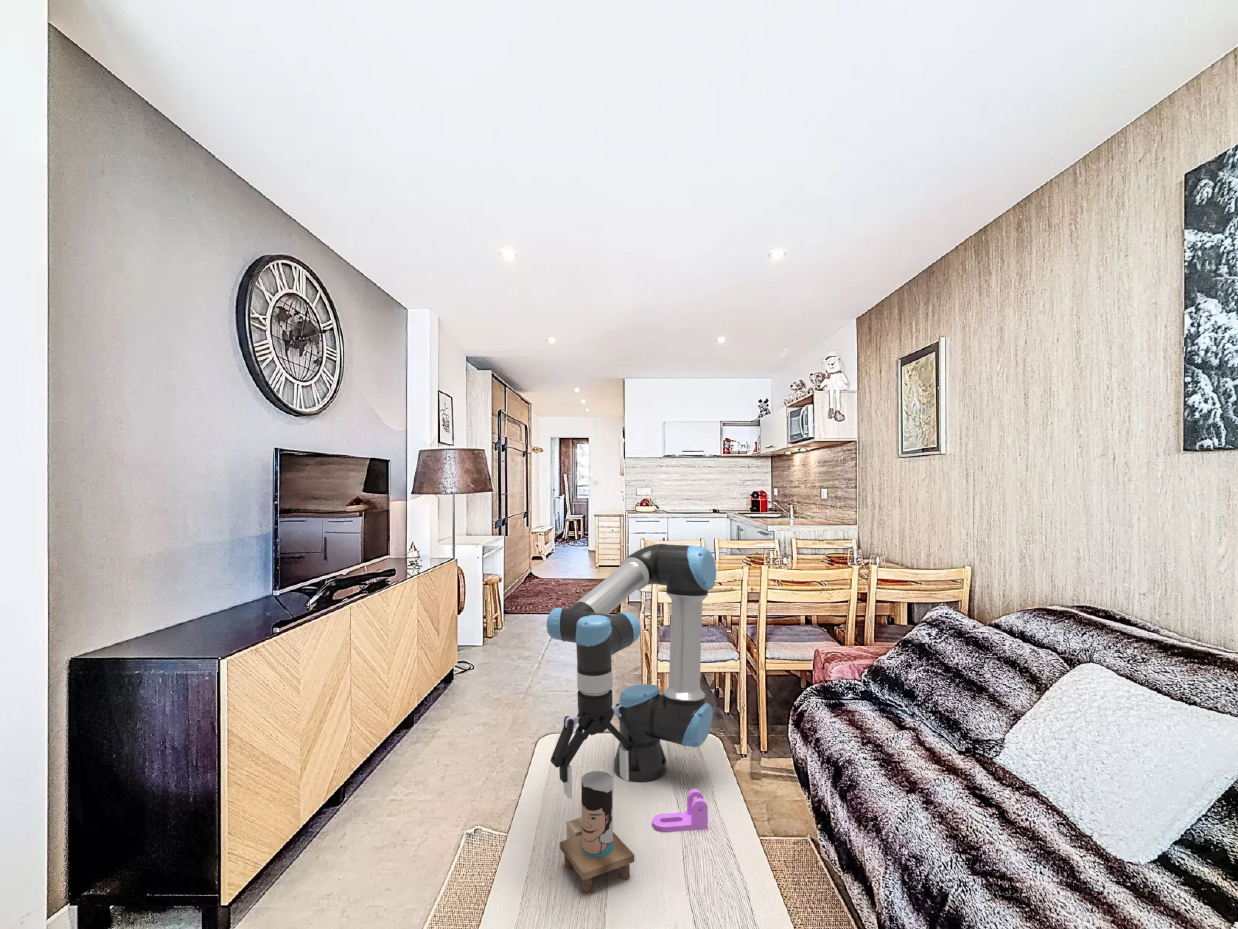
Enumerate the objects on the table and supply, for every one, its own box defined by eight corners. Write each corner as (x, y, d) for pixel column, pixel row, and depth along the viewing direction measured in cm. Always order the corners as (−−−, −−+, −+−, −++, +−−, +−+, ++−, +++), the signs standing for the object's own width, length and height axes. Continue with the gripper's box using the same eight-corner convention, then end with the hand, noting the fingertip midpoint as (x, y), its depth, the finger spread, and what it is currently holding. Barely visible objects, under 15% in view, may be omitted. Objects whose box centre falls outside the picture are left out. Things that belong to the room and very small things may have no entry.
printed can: (579, 840, 138) (578, 772, 138) (609, 836, 139) (608, 769, 139) (584, 859, 131) (583, 788, 131) (615, 855, 133) (615, 784, 133)
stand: (608, 847, 143) (608, 826, 143) (634, 878, 133) (634, 854, 133) (560, 864, 138) (559, 841, 138) (583, 897, 127) (583, 873, 127)
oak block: (586, 836, 148) (585, 815, 148) (595, 848, 143) (595, 826, 143) (566, 843, 145) (566, 821, 145) (575, 855, 141) (575, 832, 141)
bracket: (701, 816, 156) (701, 788, 156) (707, 829, 150) (707, 800, 150) (650, 820, 154) (650, 792, 154) (654, 833, 149) (654, 804, 149)
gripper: (636, 673, 144) (637, 764, 145) (534, 695, 132) (536, 794, 133) (653, 683, 138) (655, 778, 138) (547, 708, 126) (549, 812, 126)
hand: (596, 786), depth 135 cm, fingers open, 13 cm apart
